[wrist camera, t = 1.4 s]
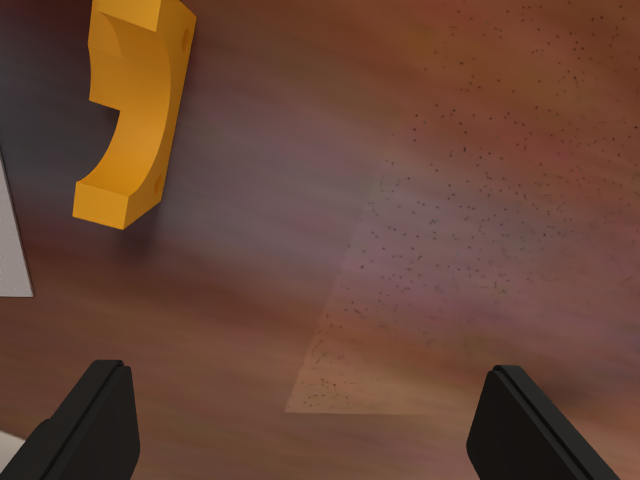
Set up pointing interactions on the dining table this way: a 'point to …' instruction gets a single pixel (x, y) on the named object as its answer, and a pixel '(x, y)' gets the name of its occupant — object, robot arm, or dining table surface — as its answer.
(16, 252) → the door panel
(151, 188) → the pipe clamp
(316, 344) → the dining table surface
